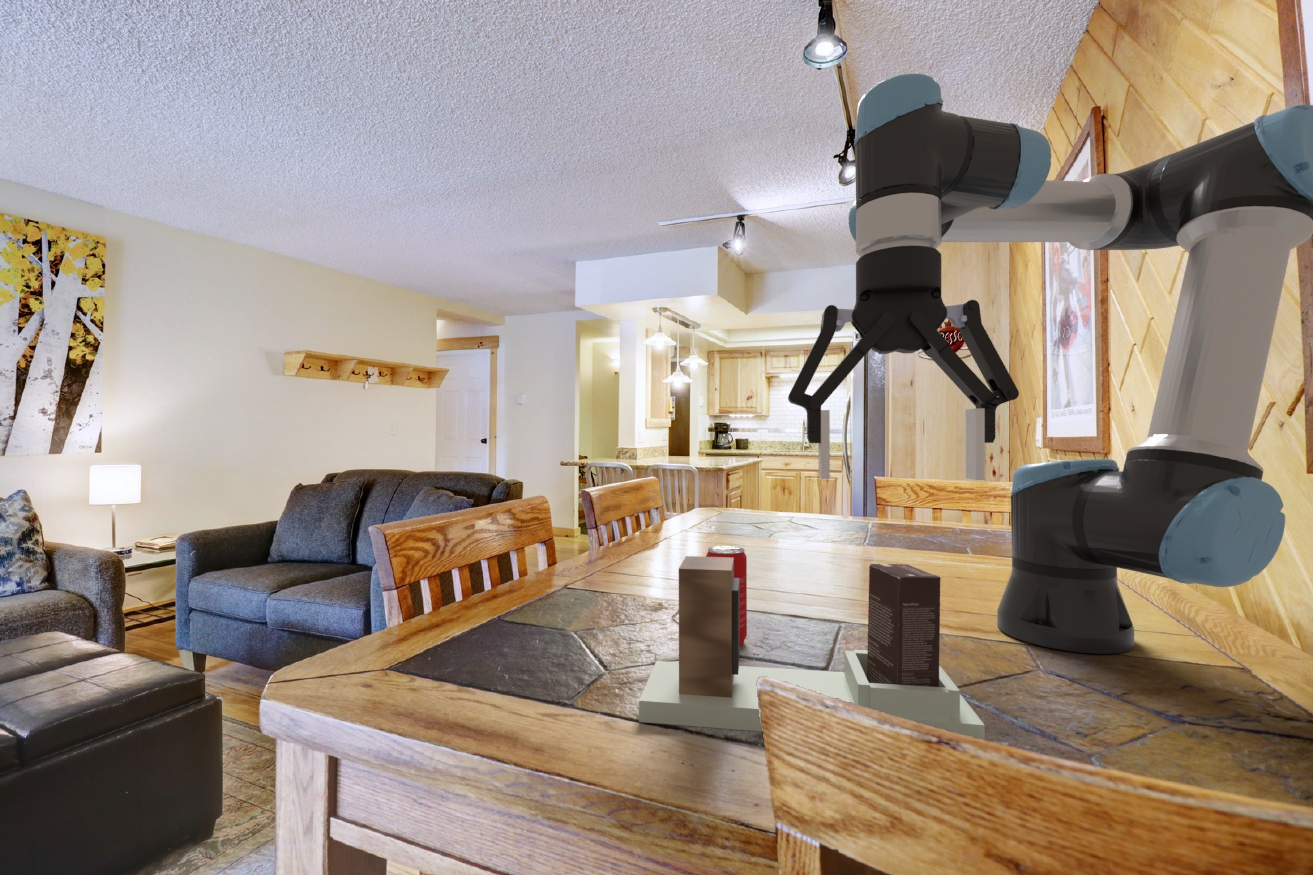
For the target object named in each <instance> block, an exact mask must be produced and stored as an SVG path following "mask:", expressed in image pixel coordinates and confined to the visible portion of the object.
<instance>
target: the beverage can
mask: <svg viewBox="0 0 1313 875" xmlns="http://www.w3.org/2000/svg"><path fill="white" fill-rule="evenodd" d="M745 551H746V550H745V548H742V547H740V546H734V545H733V546H732V545H731V546H730V545H717V546H711V547H709V548H707V552H706V555H705V557H730V558H734V578H740V647H742V646H743V645H744V644H745V640H746V637H747V636H748V623H747V622H748V617H747V616H748V612H747V611H748V608H747V607H748V602H747V601H748V600H747V599H748V598H747V596H748V595H747V594H748V593H747V592H748V590H747V589H748V587H747V585H748V584H747V579H748V578H747V576H748V574H747V570H748V569H747V561H748V560H747V555H746V553H745Z"/></svg>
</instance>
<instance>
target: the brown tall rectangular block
mask: <svg viewBox="0 0 1313 875" xmlns="http://www.w3.org/2000/svg"><path fill="white" fill-rule="evenodd" d="M740 647H741V646H740V578H734V558H730V557H706V556H693V555H691V556H689V555H687V556H685V557H684V559H683V560H682V561H681V564H680V566H679V567H678V662H679V694H685V695H700V696H715V697H729V698H732V689H733V678H734V675H738V671H739V666H740V655H741V653H740V651H741V650H740V649H741V648H740Z"/></svg>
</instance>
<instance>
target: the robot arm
mask: <svg viewBox="0 0 1313 875" xmlns="http://www.w3.org/2000/svg"><path fill="white" fill-rule="evenodd" d="M941 90H942V88H941V86H940V84H939V83H938V82H937V81H936V80H934V78H933V76H929V75H927V74H924V73H905V74H900V75H895V76H891V77H889V78H885V79H884V80H881V81H880V82H878V83H876V84H875V85H873V86H872V87H871V88H870V90H868V91H866V92H864V94H863V96H862V97H861V99H860V100H859V102H858V105H857V109H856V110H857V111H856V119H855V134H854V135H855V136H854V141H853V142H854V143H853V147H854V154H855V155H854V156H855V158H854V161H855V164H854V165H855V201H854V202H853V203H852V206H851V207H850V209H849V214H848V229H849V232H850V235H851V237H852V238H853V240H854V242H855V252H856V254H857V255H858V256H859V259H857V260H856V262H855V304H854V308H853V309H846V308H838V307H837V306H836V305H834V304H829V305H828V306H826V307H825V309H824V311H823V312H822V314H821V322H820V332H819V334H818V337H817V338H816V340H815V342H814V344H813V346H812V348H811V350H810V352H809V354H808V356H807V357H806V360H805V362H804V364H803V366H802V368H801V369H800V371H799V373H798V376H797V378H796V380H795V382H794V384H793V386H792V387H791V390H790V392H789V394H788V397H787V400H788V402H789V403H790V404H792V405H794V406H795V405H796V406H799V407H801V408H803V409H804V410H805V412H806V439H807V440H808V443H809V444H818V478H819V479H821V480H830V479H831V478H830V476H831V472H830V471H831V470H830V468H831V467H830V465H831V464H830V463H831V462H830V458H831V456H830V455H831V454H830V452H831V451H830V450H831V447H830V445H831V444H830V443H831V442H830V439H831V437H830V434H831V433H830V432H831V431H830V428H831V427H830V424H831V423H830V422H831V421H830V419H831V418H830V410H829V409H822V405H824V403H825V402H826V401H827V400H828V399H829V397H831V395H833V393H834V392H835V391H836V390H837V388H838V387H839V386H840V385H841V384H842V382H843V381H844V380H845V379H846V378H847V377H848V376H849V374H850V373H851V372H852V371H853V370H854V369H855V368H856V366H857V365H858V364H859V363H860V361H862V360H863V359H864V357H865V356H866V354H868V352H870V350H872V351H873V352H875V353H878V355H887V354H891V353H895V352H896V353H901V354H914V353H915V352H918V351H920V350H922V353H924V354H925V355H926V356H927V357H929V359H931V360H932V361H933V362H934V363H935V364H936V365H937V366H938V367H939V368H940V370H942V371H943V373H944V374H945V375H946V376H947V377H948V378H949V379H950V380H951V382H953V384H955V386H957V388H958V389H959V390H960V391H961V392H962V393H963V394H964V396H965V397H966V398H967V399H968V400H969V401H970V402H971V403H972V404H973V406H975V408H967V409H965V478H966V479H970V480H974V481H985V480H986V478H985V477H986V476H985V474H986V472H985V471H986V470H985V469H986V468H985V464H986V463H985V462H986V461H985V460H986V459H985V454H986V453H985V451H986V450H985V448H986V446H985V444H991V443H994V442H995V439H996V411H997V408H998V407H999V406H1000V405H1002V404H1005V403H1008V402H1010V401H1014V400H1017V399H1018V398H1019V395H1020V392H1019V389H1018V387H1017V385H1016V384H1015V382H1014V380H1013V378H1012V377H1011V374H1010V372H1009V371H1008V369H1007V367H1006V365H1005V364H1004V362H1003V360H1002V358H1001V356H1000V354H999V352H998V350H997V349H996V347H995V345H994V344H993V342H992V339H991V338H990V336H989V334H988V332H987V330H986V329H985V327H984V325H983V323H982V322H983V321H982V315H981V308H980V303H979V301H977V300H976V299H969V300H968V301H967V302H964V303H961V304H953V305H945V303H944V301H943V299H942V253H941V252H940V251H939V250H938V247H939V246H941V244H942V243H1068V244H1069V245H1071V246H1072V247H1073V248H1076V249H1079V250H1084V251H1085V250H1086V251H1134V250H1135V251H1139V250H1145V251H1146V250H1158V249H1166V248H1172V247H1181V249H1183V250H1184V251H1186V252H1187V253H1188V257H1187V260H1186V266H1185V270H1184V275H1183V279H1182V282H1181V288H1180V292H1179V297H1178V301H1177V305H1176V310H1175V314H1174V318H1173V319H1174V320H1173V323H1172V326H1171V327H1172V328H1171V331H1170V335H1169V336H1170V337H1169V341H1168V345H1167V349H1166V353H1165V358H1164V363H1163V367H1162V372H1161V376H1160V381H1159V384H1158V389H1157V392H1156V393H1157V394H1156V398H1155V402H1154V406H1153V411H1152V415H1151V420H1150V423H1149V429H1148V433H1147V438H1146V439H1145V440H1143V441H1142V442H1139V443H1138V444H1136V445H1134V446H1133V447H1130V448H1129V449H1128V450H1127V453H1126V457H1125V461H1124V464H1123V465H1124V466H1123V468H1122V471H1120V467H1119V466H1118V463H1117V461H1116V460H1114V459H1111V458H1108V459H1107V458H1097V459H1096V458H1095V459H1094V458H1093V459H1076V460H1075V459H1074V460H1063V461H1062V460H1059V461H1058V460H1057V461H1049V462H1048V461H1047V462H1037V463H1035V462H1034V463H1030V464H1029V463H1027V464H1023V465H1021V466H1019V467H1018V468H1016V469H1015V471H1014V473H1013V476H1012V485H1011V486H1012V487H1011V492H1010V514H1011V515H1010V516H1011V517H1010V518H1011V519H1010V521H1011V522H1010V523H1011V573H1010V576H1009V579H1008V581H1007V582H1006V586H1005V590H1004V591H1003V594H1002V596H1001V599H1000V602H999V603H998V604H999V605H998V608H997V613H996V614H997V616H996V617H997V618H996V620H997V623H996V625H997V628H998V629H999V630H1000V631H1001V632H1003V633H1004V634H1006V635H1008V636H1009V637H1012V638H1015V639H1018V640H1019V641H1023V642H1025V643H1029V644H1033V645H1037V646H1039V647H1040V646H1041V647H1044V648H1050V649H1054V650H1060V651H1067V652H1072V653H1082V654H1099V655H1102V654H1103V655H1106V654H1107V655H1110V654H1120V653H1125V652H1129V651H1131V650H1133V649H1134V648H1135V626H1134V625H1133V622H1132V619H1131V617H1130V613H1129V611H1128V608H1127V606H1126V604H1125V601H1124V598H1123V596H1122V592H1121V589H1120V587H1119V585H1118V573H1117V572H1118V569H1124V570H1127V571H1132V572H1136V573H1142V574H1147V575H1151V576H1156V577H1160V578H1164V579H1165V578H1166V579H1169V580H1171V581H1175V582H1177V583H1181V584H1185V585H1186V584H1187V585H1191V584H1197V585H1203V586H1209V587H1216V588H1231V587H1236V586H1239V585H1242V584H1243V585H1244V584H1245V583H1247V582H1249V581H1250V580H1252V579H1253V578H1254V577H1256V576H1258V575H1260V574H1261V573H1262V572H1263V571H1264V570H1265V569H1266V568H1267V567H1268V566H1269V564H1270V563H1271V562H1272V560H1273V559H1274V557H1275V556H1276V554H1277V552H1278V550H1279V547H1280V546H1281V543H1282V540H1283V536H1284V532H1285V526H1286V514H1285V513H1284V512H1282V509H1283V508H1284V506H1285V505H1284V502H1283V500H1282V498H1281V495H1280V494H1279V492H1278V491H1277V490H1276V489H1275V488H1274V487H1273V486H1272V485H1271V484H1270V483H1268V482H1266V481H1263V480H1262V479H1263V475H1264V471H1265V470H1264V467H1262V465H1260V463H1258V461H1256V460H1255V459H1254V458H1253V457H1252V456H1251V455H1250V454H1249V447H1250V443H1251V438H1252V434H1253V428H1254V423H1255V419H1256V413H1257V409H1258V404H1259V401H1260V395H1261V390H1262V386H1263V381H1264V375H1265V373H1266V366H1267V362H1268V357H1269V353H1270V348H1271V344H1272V339H1273V338H1272V337H1273V334H1274V329H1275V324H1276V319H1277V315H1278V310H1279V306H1280V302H1281V301H1280V300H1281V297H1282V292H1283V288H1284V281H1285V279H1286V278H1285V277H1286V272H1287V268H1288V264H1289V258H1290V254H1291V250H1294V249H1295V248H1297V247H1299V246H1300V245H1302V244H1304V243H1306V242H1307V241H1308V240H1309V239H1310V238H1311V237H1312V236H1313V104H1297V105H1293V106H1290V107H1287V108H1284V109H1282V110H1280V111H1277V112H1273V113H1270V114H1268V115H1265V114H1264V115H1260V116H1259V117H1256V118H1255V119H1254V121H1253V122H1249V123H1247V124H1245V125H1242V126H1239V127H1237V128H1234V129H1232V130H1229V131H1226V132H1224V133H1222V134H1219V135H1217V136H1214V137H1211V138H1208V139H1206V140H1204V141H1201V142H1198V143H1196V144H1193V145H1190V146H1189V147H1186V148H1183V149H1180V150H1178V151H1176V152H1173V153H1171V154H1168V155H1165V156H1162V157H1160V158H1158V159H1156V160H1152V161H1151V162H1148V163H1146V164H1143V165H1140V166H1137V167H1134V168H1132V169H1129V170H1126V171H1121V172H1119V173H1100V174H1095V175H1093V176H1091V177H1090V176H1089V177H1087V178H1086V179H1084V180H1083V181H1082V180H1080V181H1079V180H1055V179H1054V180H1053V179H1052V180H1051V179H1049V180H1048V176H1049V174H1050V170H1051V166H1052V160H1051V159H1052V147H1051V145H1050V143H1049V140H1048V139H1047V137H1046V136H1045V135H1044V134H1043V133H1041V132H1040V131H1038V130H1033V129H1029V128H1026V127H1024V126H1023V127H1022V126H1020V125H1018V123H1017V124H1016V123H1015V122H1014V123H1013V122H1009V123H1008V122H1003V121H997V120H996V121H994V120H989V119H984V118H983V119H982V118H976V117H970V116H964V115H959V114H958V113H957V114H956V113H952V112H947V111H943V109H942V108H943V106H944V100H943V98H942V91H941ZM945 320H949V321H950V322H951V324H952V326H953V327H954V328H956V329H958V330H959V333H960V336H961V338H962V340H963V341H964V342H963V343H964V344H965V345H966V347H967V349H968V351H969V353H970V355H971V357H972V358H973V361H974V362H975V364H976V366H977V368H978V370H979V371H980V373H981V375H982V376H983V378H984V380H985V382H986V384H987V385H986V384H985V383H984V382H983V381H982V380H981V378H979V376H978V375H977V374H976V373H975V372H974V371H973V370H972V369H971V368H970V367H969V366H968V365H967V363H965V361H963V359H962V358H961V357H960V356H959V355H958V354H957V353H956V352H955V351H954V349H953V348H952V347H951V346H950V345H949V341H947V339H946V338H945V337H944V336H943V335H942V334H941V333H940V332H939V329H940V327H941V325H942V324H943V323H944V322H945ZM847 323H851V325H852V327H853V328H854V329H855V330H856V331H857V333H858V334H859V335H860V337H861V338H860V339H859V340H858V342H856V343H855V344H854V346H853V347H852V348H851V350H850V351H849V352H848V353H847V354H846V355H845V357H844V358H843V359H842V360H841V361H840V362H839V364H838V365H837V366H836V367H835V369H833V371H832V372H831V373H830V374H829V375H828V376H827V377H826V378H825V380H824V381H823V382H822V383H821V385H820V386H819V387H818V388H817V390H815V392H813V394H812V395H810V394H807V393H806V392H807V390H808V387H809V386H810V384H811V381H812V380H813V377H814V375H815V374H816V372H817V369H818V368H819V366H820V363H821V362H822V360H823V357H824V356H825V353H826V352H827V350H828V348H829V346H830V344H831V342H832V340H833V337H834V335H835V333H836V332H837V333H838V332H841V331H842V330H843V328H844V327H845V324H847Z"/></svg>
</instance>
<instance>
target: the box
mask: <svg viewBox="0 0 1313 875" xmlns="http://www.w3.org/2000/svg"><path fill="white" fill-rule="evenodd" d="M868 567H869V570H868V611H867V612H868V613H867V614H868V617H867V618H868V619H867V621H868V622H867V650H868V657H867V659H868V660H867V680H868V682H869V683H879V684H895V685H911V686H927V687H939V665H940V631H941V630H940V628H941V627H940V626H941V580H942V579H941V578H942V577H941V576H938V575H936V574H932V573H930V572H927V571H924V570H922V569H920V568H917V567H914V566H911V565H909V564H906V563H905V564H904V563H899V564H898V563H871V564H870V565H869V566H868Z"/></svg>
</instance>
